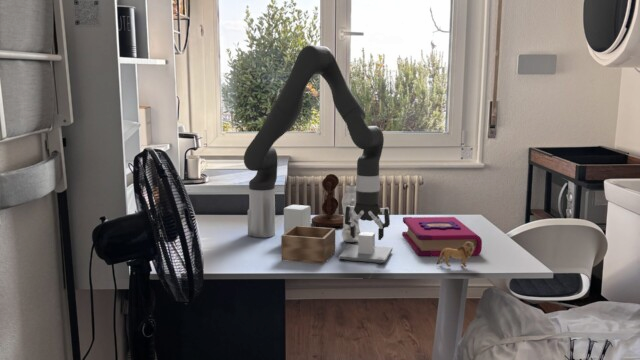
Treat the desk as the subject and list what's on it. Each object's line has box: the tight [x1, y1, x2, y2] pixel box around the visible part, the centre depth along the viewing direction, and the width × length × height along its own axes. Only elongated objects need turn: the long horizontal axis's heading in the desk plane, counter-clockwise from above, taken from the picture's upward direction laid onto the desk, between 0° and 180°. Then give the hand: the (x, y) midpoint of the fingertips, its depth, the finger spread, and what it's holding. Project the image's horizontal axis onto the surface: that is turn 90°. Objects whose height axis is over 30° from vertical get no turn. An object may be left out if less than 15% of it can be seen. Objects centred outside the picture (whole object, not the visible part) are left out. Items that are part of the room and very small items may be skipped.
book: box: [401, 216, 483, 258], centre depth 212 cm, size 21×28×8 cm
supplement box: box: [283, 204, 312, 234], centre depth 214 cm, size 7×7×13 cm
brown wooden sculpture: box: [311, 173, 344, 229], centre depth 238 cm, size 15×15×20 cm
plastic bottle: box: [341, 184, 361, 243], centre depth 213 cm, size 6×7×20 cm
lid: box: [338, 231, 393, 265], centre depth 197 cm, size 15×15×8 cm
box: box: [280, 226, 336, 265], centre depth 197 cm, size 14×14×8 cm
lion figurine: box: [435, 242, 474, 268], centre depth 188 cm, size 12×4×7 cm, turn 97°
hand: (366, 238), depth 196 cm, fingers open, 8 cm apart
